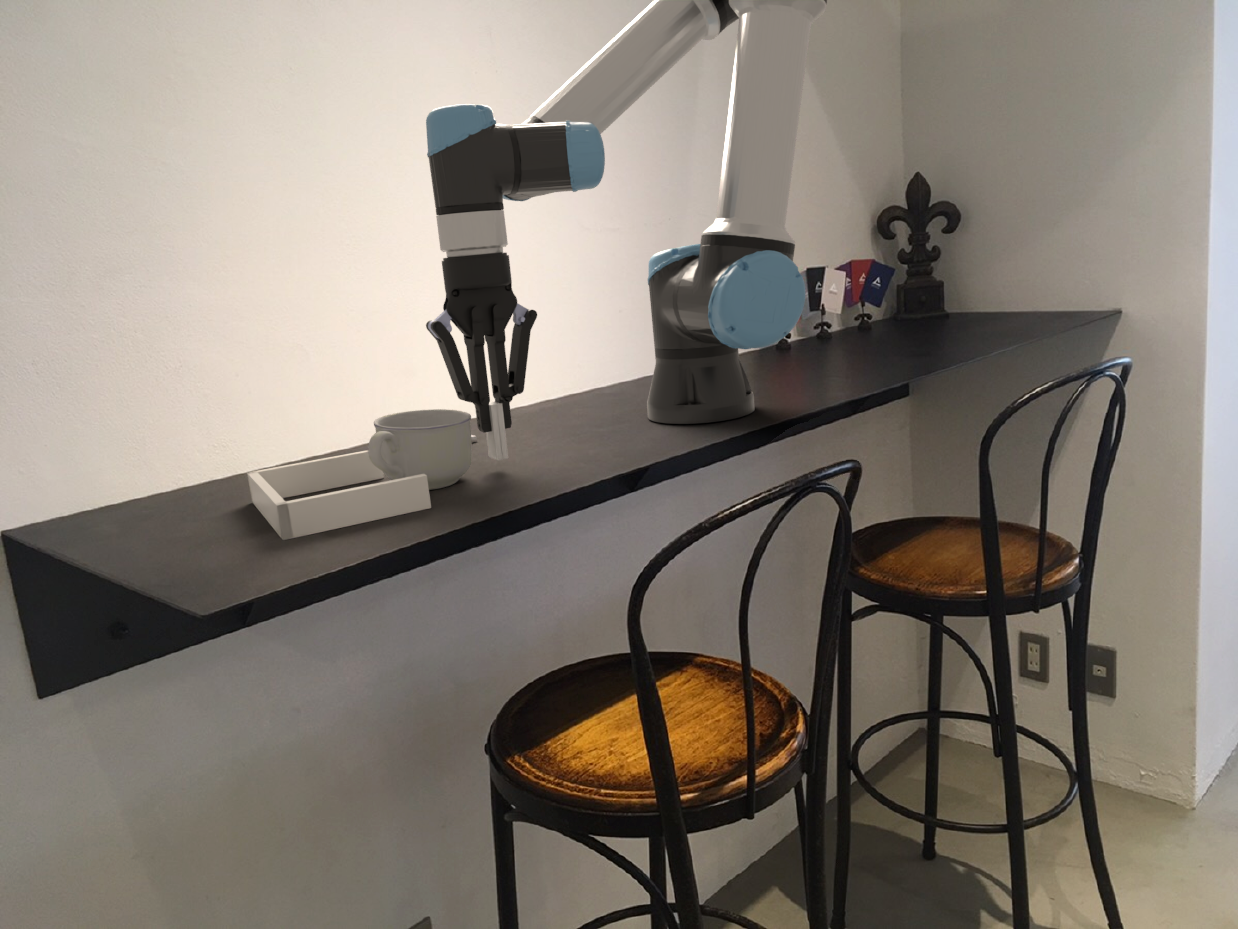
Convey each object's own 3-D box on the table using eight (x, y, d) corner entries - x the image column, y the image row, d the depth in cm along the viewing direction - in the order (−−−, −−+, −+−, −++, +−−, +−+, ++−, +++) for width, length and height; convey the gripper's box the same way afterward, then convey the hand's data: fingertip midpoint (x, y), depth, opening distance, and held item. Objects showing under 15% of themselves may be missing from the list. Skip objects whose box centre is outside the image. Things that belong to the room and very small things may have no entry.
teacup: (436, 469, 118) (427, 404, 117) (498, 476, 112) (489, 408, 110) (340, 498, 108) (329, 428, 106) (402, 509, 101) (391, 434, 99)
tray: (381, 476, 117) (377, 448, 116) (431, 507, 101) (426, 475, 100) (252, 502, 110) (246, 472, 110) (283, 540, 94) (276, 505, 93)
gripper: (515, 248, 115) (535, 443, 120) (408, 258, 109) (435, 462, 114) (541, 246, 108) (561, 452, 114) (429, 256, 102) (456, 473, 108)
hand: (498, 457), depth 114 cm, fingers closed
